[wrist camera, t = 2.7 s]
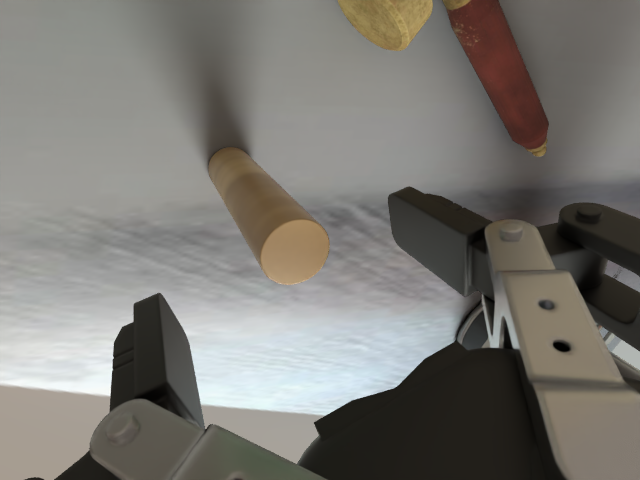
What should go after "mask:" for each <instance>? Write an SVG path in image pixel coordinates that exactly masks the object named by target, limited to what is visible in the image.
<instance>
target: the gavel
mask: <svg viewBox="0 0 640 480" xmlns="http://www.w3.org/2000/svg"><path fill="white" fill-rule="evenodd" d="M442 1H443V3H444V5H445V7H446V9H447V13H448V16H449V20H450V23H451V26H452V29H453V31H454V32H455V34H456V36H457V38H458V40H459V42H460V44H461V45H462V47H463V49H464V51H465V53H466V55H467V57H468V58H469V60H470V62H471V64H472V66H473V68H474V70H475V71H476V73H477V75H478V77H479V79H480V81H481V82H482V84H483V86H484V88H485V90H486V92H487V94H488V95H489V97H490V99H491V101H492V103H493V105H494V107H495V108H496V110H497V112H498V114H499V116H500V118H501V120H502V121H503V123H504V125H505V127H506V129H507V131H508V133H509V134H510V136H511V138H512V140H513V141H515V142H516V143H518V144H520V145H521V146H523V147H525V149H526V150H527V151H530V152H532V154H533V155H535V156H538V157H539V156H542V155H544V154H545V152H546V146H545V145H546V143H547V131H548V125H549V123H548V120H547V117H546V115H545V112H544V110H543V107H542V105H541V103H540V100H539V98H538V95H537V93H536V91H535V88H534V86H533V83H532V81H531V79H530V76H529V74H528V71H527V69H526V66H525V64H524V62H523V59H522V57H521V54H520V52H519V50H518V47H517V45H516V42H515V40H514V37H513V35H512V33H511V30H510V28H509V25H508V23H507V21H506V18H505V16H504V13H503V11H502V8H501V6H500V4H499V1H498V0H442ZM338 3H339V5H340V7H341V9H342V11H343V13H344V14H345V16H346V17H347V19H348V20H349V21H350V23H351V24H352V25H353V26H354V27H355V28H356V29H357V30H358V31H359V32H360V33H361V34H362V35H363V36H364V37H366V38H367V39H368V40H370V41H371V42H373V43H374V44H376V45H378V46H380V47H382V48H384V49H388V50H394V51H401V50H403V49H405V48H406V47H407V46H408V45H409V43H410V42H411V41H412V39H413V38H414V37H415V35H416V34H417V33H418V31H419V30H420V29H421V27H422V26H423V25H424V23H425V22H426V21H427V19H428V18H429V17H430V15H431V13H432V7H433V4H432V0H338Z"/></svg>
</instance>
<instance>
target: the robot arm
mask: <svg viewBox="0 0 640 480" xmlns="http://www.w3.org/2000/svg"><path fill="white" fill-rule="evenodd" d="M388 205H389V213H390V221H391V229H392V234H393V237H394V240H395V241H396V243H397V244H398V246H399V247H400V248H401V249H403V250H404V251H405V252H407V253H408V254H409V255H411V256H412V257H413V258H415V259H416V260H417V261H418V262H420V263H421V264H422V265H424V266H425V267H426V268H428V269H429V270H430V271H431V272H433V273H434V274H435V275H437V276H438V277H439V278H441V279H442V280H443V281H444V282H446V283H447V284H448V285H450V286H451V287H452V288H454V289H455V290H456V291H458V292H459V293H460V294H461V295H463V296H464V297H467V296H469V295H471V294H472V293H474V292H476V291H480V292H481V293H482V302H481V303H480V304H479V305H478V306H477V307H476V308H475V309H474V310H473V311H472V312H471V314H470V315H469V316H468V317H467V319H466V320H465V322H464V323H463V325H462V327H461V329H460V331H459V334H458V337H457V341H455V342H454V343H452V344H450V345H448V346H447V347H445V348H443V349H441V350H440V351H438V352H436V353H434V354H433V355H431V356H429V357H427V358H426V359H424V360H423V361H422V362H421V363H420V364H419V365H418V366H417V367H416V368H415V369H414V370H413V371H412V372H411V373H410V374H409V375H408V376H407V377H406V378H405V379H404V380H403V381H402V382H401V383H400V385H398V386H397V387H396V388H394V389H391V390H387V391H384V392H380V393H377V394H373V395H370V396H367V397H363V398H360V399H356V400H353V401H351V402H349V403H347V404H345V405H344V406H342V407H340V408H338V409H337V410H335V411H333V412H331V413H330V414H328V415H326V416H324V417H323V418H321V419H319V420H318V421H316V422H314V424H315V427H316V429H317V432H318V434H319V436H318V437H317V438H316V439H315V440H314V441H313V442H312V443H311V445H310V446H309V447H308V448H307V449H306V451H305V452H304V453H303V455H302V457H301V458H300V460H299V461H298V463H297V464H295V463H293V462H291V461H289V460H287V459H285V458H283V457H281V456H279V455H277V454H275V453H273V452H271V451H269V450H266V449H265V448H262V447H260V446H258V445H256V444H254V443H252V442H250V441H248V440H246V439H244V438H242V437H240V436H238V435H236V434H234V433H232V432H230V431H228V430H226V429H224V428H222V427H220V426H217V425H213V424H210V425H209V426H208V427H207V429H205V426H204V420H203V415H202V409H201V404H200V399H199V393H198V388H197V382H196V377H195V372H194V366H193V361H192V356H191V350H190V345H189V342H188V339H187V336H186V334H185V332H184V330H183V328H182V326H181V325H180V323H179V321H178V320H177V318H176V316H175V315H174V313H173V312H172V310H171V308H170V307H169V305H168V303H167V302H166V300H165V298H164V297H163V295H162V294H161V293H157V294H155V295H153V296H150V297H148V298H146V299H143V300H141V301H139V302H136V303H135V304H134V322H133V323H130V324H128V325H126V326H124V327H122V329H121V330H120V332H119V334H118V336H117V338H116V340H115V342H114V352H113V357H114V359H113V371H112V383H111V399H110V413H109V414H108V415H107V416H105V418H104V419H103V420H102V421H101V422H100V423H99V425H98V427H97V428H96V429H95V431H94V433H93V435H92V438H91V441H90V448H89V449H90V450H89V451H88V452H87V453H86V454H85V455H84V456H83V457H82V458H81V459H80V460H79V461H77V462H76V463H75V464H73V465H72V466H71V467H69V468H68V469H67V470H66V471H64V472H63V473H62V474H61V475H60V476H58V477H57V478H56V479H54V480H640V370H639V369H637V368H635V367H634V366H632V365H631V364H629V363H627V362H626V361H625V360H623V359H621V358H620V357H618V356H617V355H615V354H614V353H612V352H611V351H609V350H608V348H607V346H606V344H605V342H604V340H603V338H602V336H601V334H600V332H599V330H598V328H597V326H596V324H595V322H596V323H598V324H599V325H601V326H602V327H604V328H605V329H607V330H608V331H610V332H611V333H613V334H614V335H616V336H617V337H619V338H620V339H622V340H623V341H625V342H626V343H628V344H629V345H631V346H632V347H634V348H636V349H637V350H639V351H640V293H639V292H638V291H636V290H634V289H632V288H630V287H628V286H626V285H625V284H623V283H621V282H619V281H617V280H615V279H613V278H612V277H610V276H608V275H606V274H604V273H605V269H606V266H607V262H608V260H610V261H612V262H614V263H616V264H618V265H620V266H622V267H624V268H626V269H628V270H630V271H632V272H634V273H636V274H637V275H638V276H639V277H640V219H639V218H636V217H633V216H631V215H628V214H625V213H623V212H620V211H618V210H615V209H612V208H610V207H607V206H604V205H601V204H596V203H574V204H570V205H567V206H565V207H563V208H562V209H561V210H560V214H559V219H558V223H554V224H549V225H545V226H540V227H535V226H534V225H532V224H530V223H528V222H525V221H522V220H516V219H503V220H498V221H495V222H492V221H490V220H488V219H486V218H484V217H482V216H480V215H478V214H476V213H474V212H472V211H470V210H468V209H466V208H462V206H460V205H458V204H456V203H454V204H453V202H452V201H450V200H448V199H446V198H444V197H442V196H437V195H432V194H424V193H422V192H420V191H418V190H416V189H414V188H412V187H406V188H404V189H401V190H399V191H397V192H394V193H392V194H390V195H389V197H388ZM594 321H595V322H594ZM25 480H44V479H41V478H36V477H34V478H28V479H25Z"/></svg>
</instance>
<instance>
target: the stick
mask: <svg viewBox="0 0 640 480" xmlns="http://www.w3.org/2000/svg"><path fill="white" fill-rule="evenodd" d="M208 171H209V176H210V178H211V180H212V182H213V184H214V185H215V187H216V189H217V191H218V192H219V194H220V196H221V198H222V199H223V201H224V203H225V205H226V207H227V208H228V210H229V212H230V214H231V215H232V217H233V219H234V221H235V222H236V224H237V226H238V228H239V229H240V231H241V233H242V235H243V237H244V238H245V240H246V242H247V244H248V245H249V247H250V249H251V251H252V252H253V254H254V256H255V258H256V259H257V261H258V263H259V265H260V267H261V268H262V270H263V272H264V273H265V275H266V276H267V277H268V278H269V279H271V280H272V281H274V282H277V283H280V284H285V285H291V284H297V283H301V282H303V281H306V280H308V279H309V278H311V277H312V276H314V275H315V274H316V273H317V272H318V271H319V270H320V269H321V268H322V266H323V265H324V263H325V261H326V259H327V257H328V253H329V238H328V235H327V232H326V231H325V229H324V228H323V227H322V226H321V225H320V224H319V223H318V222H317V221H316V220H315V219H314V218H313V217H312V216H311V215H310V214H309V213H308V212H307V211H306V210H305V209H304V208H303V207H302V206H301V205H299V204H298V203H297V202H296V201H295V200H294V199H293V198H292V197H291V196H290V195H289V194H288V193H287V192H286V191H285V190H284V189H283V188H282V187H281V186H280V185H279V184H278V183H277V182H276V181H275V180H274V179H273V178H271V177H270V176H269V175H268V174H267V173H266V172H265V171H264V170H263V169H262V168H261V167H260V166H259V165H258V164H257V163H256V162H255V161H254V160H253V159H252V158H251V157H250V156H249V155H248V154H247V153H245V152H244V151H243V150H241V149H239V148H235V147H227V148H223V149H221V150H219V151H218V152H216V153H215V154H214V155H213V156H212V158H211V160H210V162H209V167H208Z"/></svg>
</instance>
